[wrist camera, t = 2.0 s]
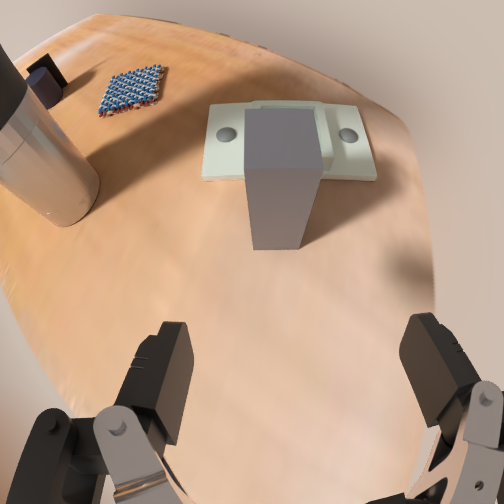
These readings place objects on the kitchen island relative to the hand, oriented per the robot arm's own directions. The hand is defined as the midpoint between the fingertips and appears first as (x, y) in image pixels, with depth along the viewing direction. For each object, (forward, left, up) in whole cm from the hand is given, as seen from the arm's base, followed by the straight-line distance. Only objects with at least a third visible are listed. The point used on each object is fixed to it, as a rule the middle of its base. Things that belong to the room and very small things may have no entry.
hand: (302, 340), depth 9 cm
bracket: (-2, +23, -17) cm, 29 cm away
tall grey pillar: (-2, +11, -17) cm, 21 cm away
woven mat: (-28, +32, -18) cm, 47 cm away
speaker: (-49, +34, -17) cm, 62 cm away
